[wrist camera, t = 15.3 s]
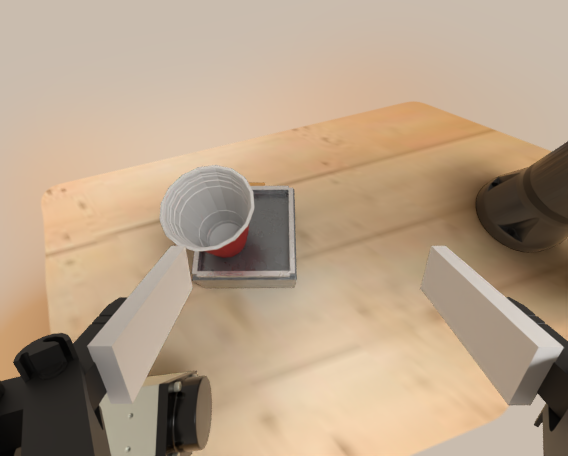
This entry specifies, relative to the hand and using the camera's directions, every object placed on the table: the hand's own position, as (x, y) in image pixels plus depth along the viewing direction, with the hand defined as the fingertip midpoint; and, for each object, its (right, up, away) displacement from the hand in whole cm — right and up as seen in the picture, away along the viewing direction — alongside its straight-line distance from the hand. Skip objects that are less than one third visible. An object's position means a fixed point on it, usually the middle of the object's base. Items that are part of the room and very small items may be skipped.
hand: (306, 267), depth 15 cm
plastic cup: (-10, 0, +26) cm, 28 cm away
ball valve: (-19, -23, +24) cm, 39 cm away
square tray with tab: (-7, 0, +34) cm, 34 cm away
